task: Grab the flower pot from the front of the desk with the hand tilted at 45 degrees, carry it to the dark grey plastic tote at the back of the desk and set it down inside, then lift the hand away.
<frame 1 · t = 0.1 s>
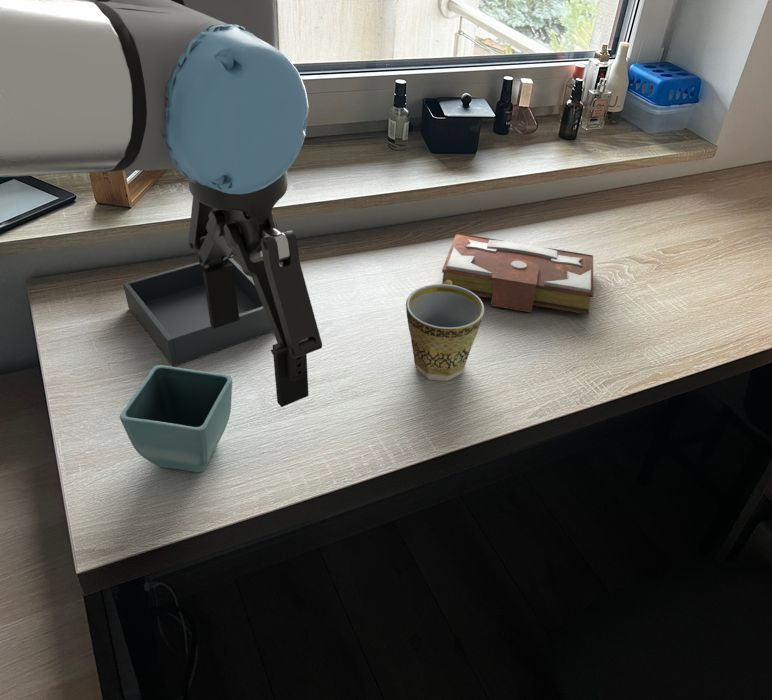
hand: (257, 359, 68), 18 cm above the table, tool pointing down, fingers open, 13 cm apart
tote: (204, 318, 101), on the table
flower pot: (190, 455, 82), on the table
ceramic cup: (440, 359, 99), on the table
book: (517, 286, 116), on the table
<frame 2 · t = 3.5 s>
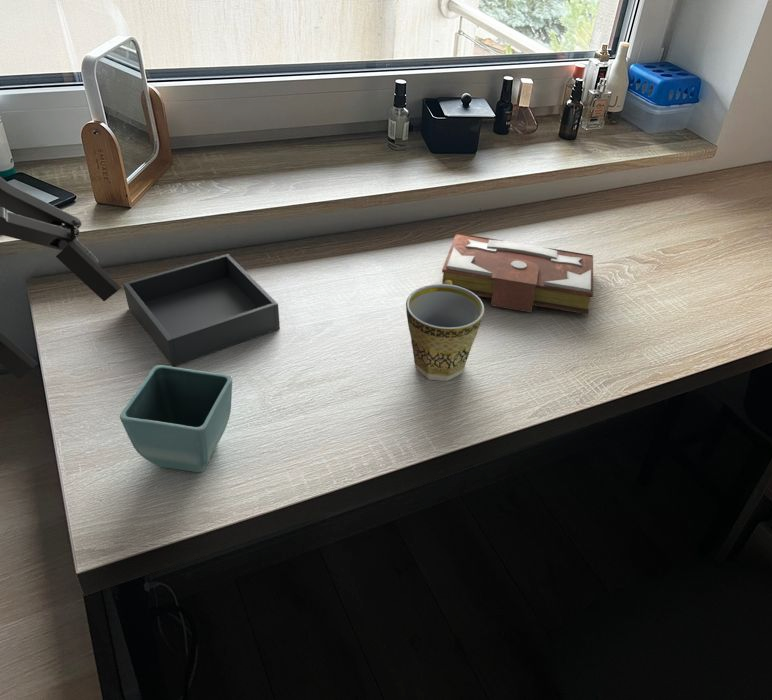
hand: (74, 330, 73), 15 cm above the table, tool tilted 45°, fingers open, 13 cm apart
nothing on the table moved.
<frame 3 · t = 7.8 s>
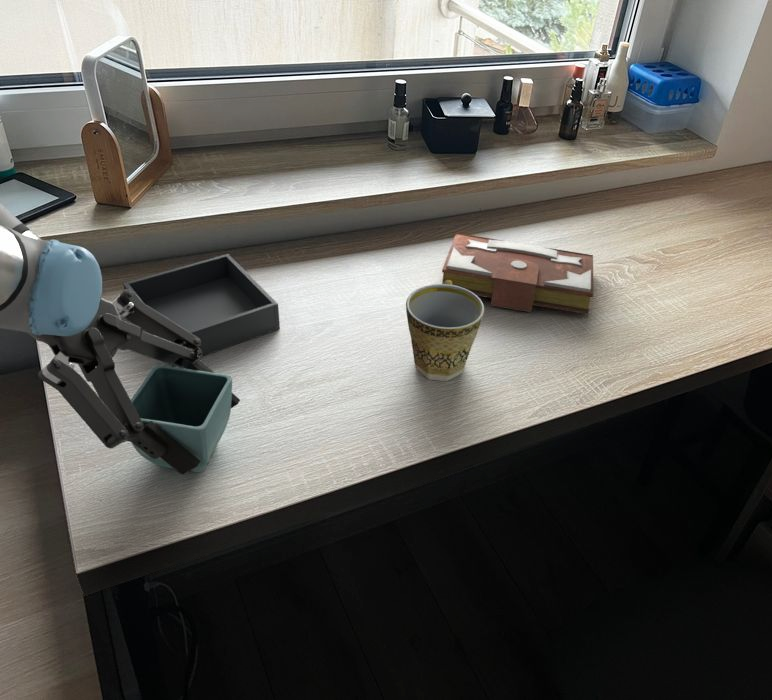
hand: (212, 435, 79), 4 cm above the table, tool tilted 45°, fingers closed on flower pot, 9 cm apart
flower pot: (189, 455, 82), on the table, touching gripper
everything else where it was.
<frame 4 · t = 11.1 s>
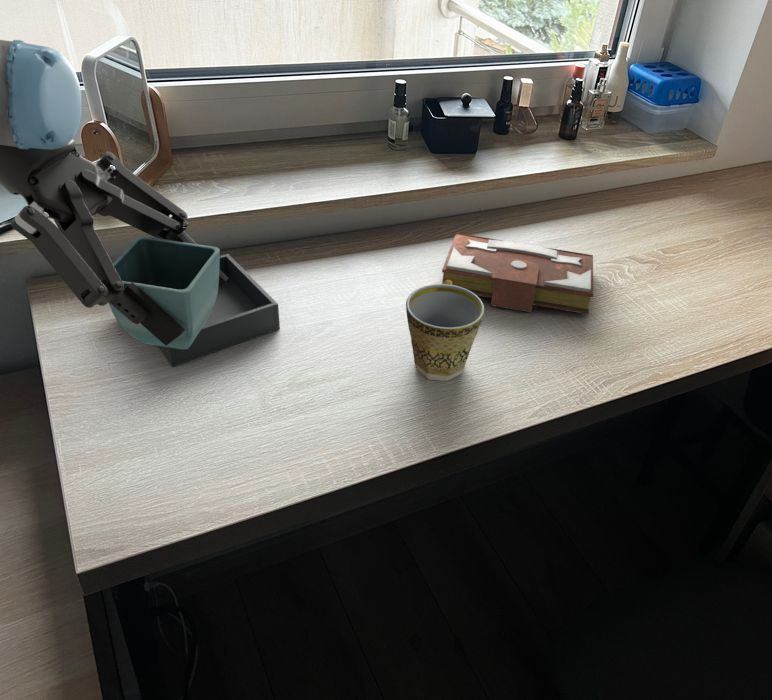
hand: (198, 310, 75), 17 cm above the table, tool tilted 45°, fingers closed on flower pot, 9 cm apart
flower pot: (175, 335, 77), point 13 cm above the table, touching gripper
everything else where it was.
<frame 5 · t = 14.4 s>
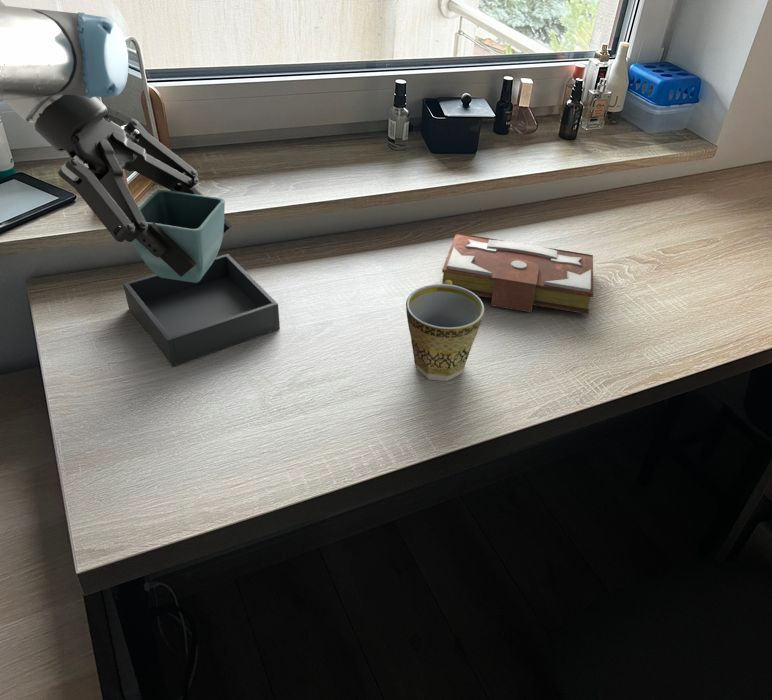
hand: (207, 250, 91), 13 cm above the table, tool tilted 45°, fingers closed on flower pot, 9 cm apart
flower pot: (187, 272, 93), point 9 cm above the table, touching gripper
everything else where it was.
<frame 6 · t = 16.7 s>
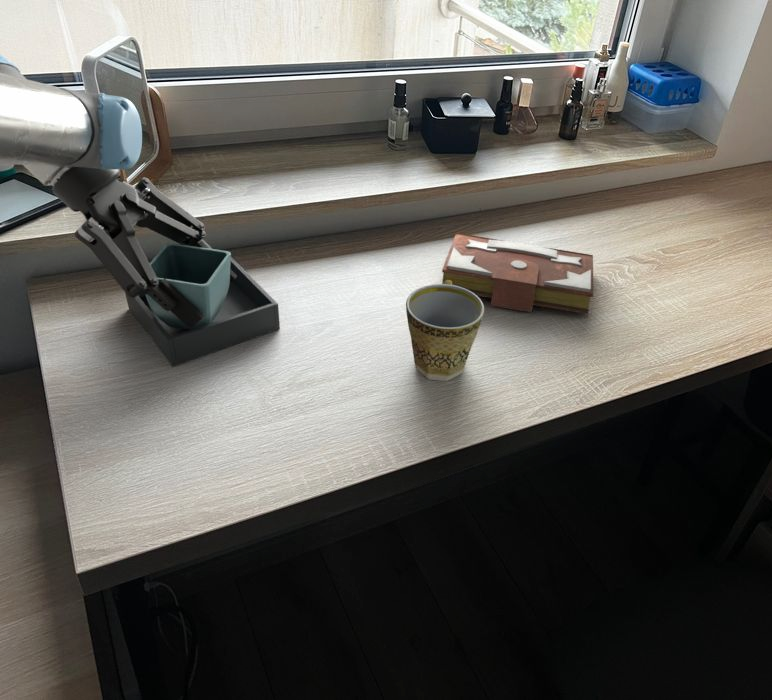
hand: (214, 301, 95), 5 cm above the table, tool tilted 45°, fingers closed on flower pot, 9 cm apart
flower pot: (195, 321, 98), point 1 cm above the table, touching gripper
everything else where it was.
when the fingers open (6 cm above the table, at t = 21.2 s): flower pot moves 1 cm, resting on tote.
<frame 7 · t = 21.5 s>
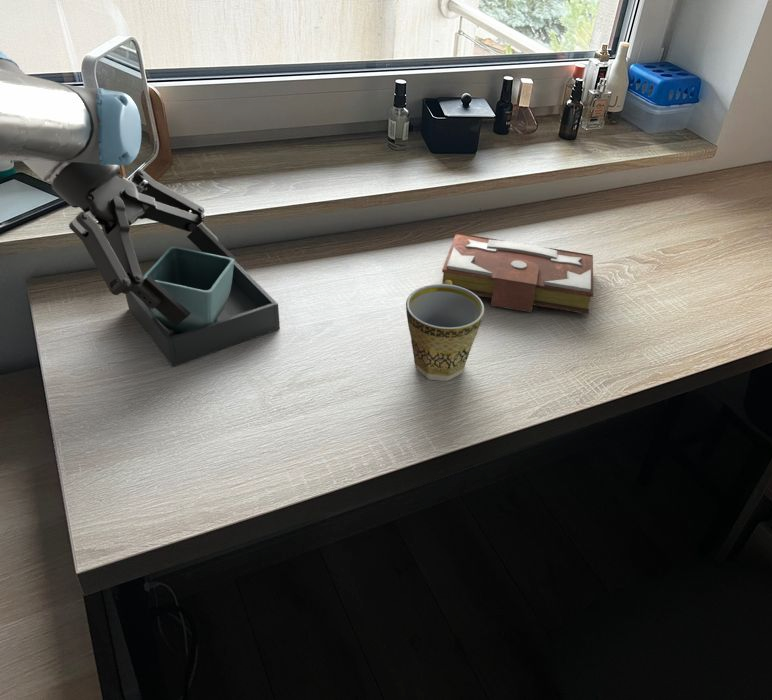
hand: (207, 291, 95), 7 cm above the table, tool tilted 45°, fingers open, 13 cm apart
flower pot: (194, 324, 98), point 1 cm above the table, touching tote
everything else where it was.
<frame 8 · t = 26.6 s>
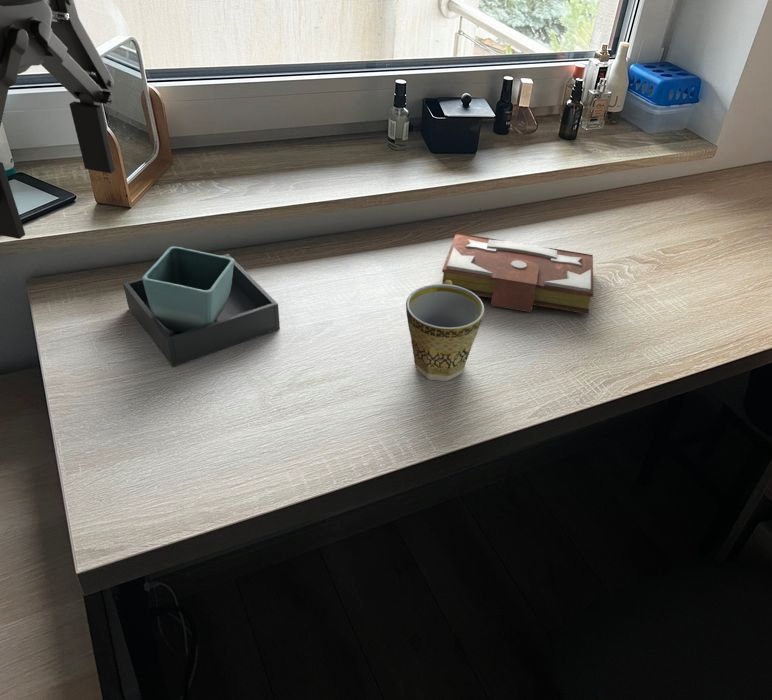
hand: (57, 199, 66), 29 cm above the table, tool pointing down, fingers open, 13 cm apart
nothing on the table moved.
at the end: flower pot inside the target area in the tote (2.7 cm from its centre), point 0.8 cm above the tote's base; flower pot tilted 4° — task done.
